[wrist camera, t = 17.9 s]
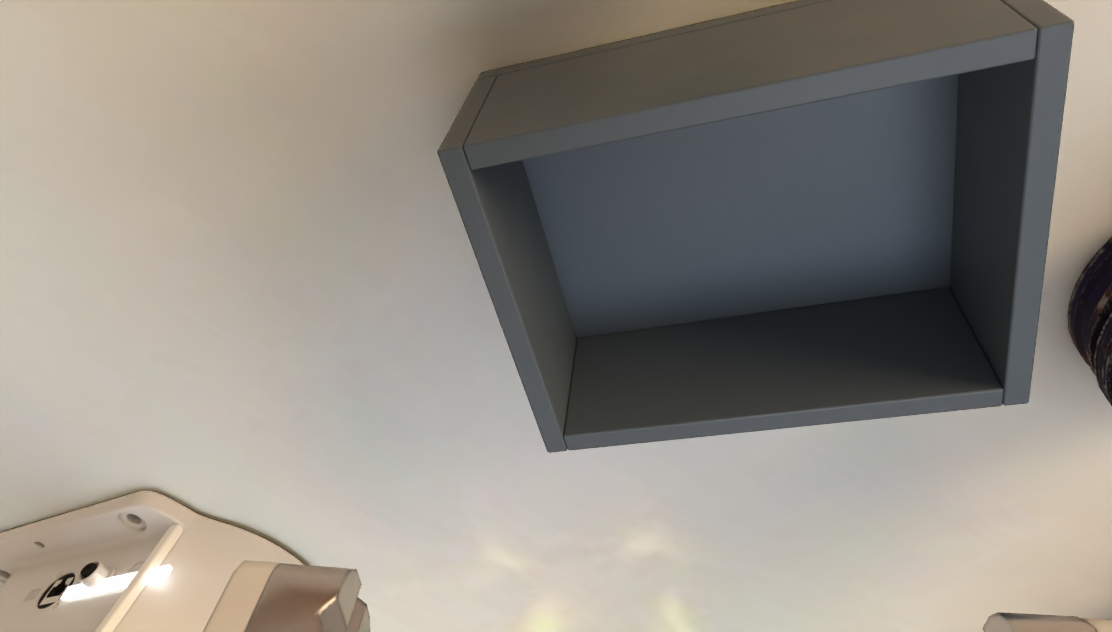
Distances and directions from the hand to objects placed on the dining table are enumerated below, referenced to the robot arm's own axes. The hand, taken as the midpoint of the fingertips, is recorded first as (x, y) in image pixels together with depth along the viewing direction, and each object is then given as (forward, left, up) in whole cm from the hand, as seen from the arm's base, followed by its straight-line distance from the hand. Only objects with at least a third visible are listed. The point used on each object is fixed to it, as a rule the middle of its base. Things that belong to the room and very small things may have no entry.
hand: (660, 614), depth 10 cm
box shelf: (+2, -5, -21) cm, 22 cm away
